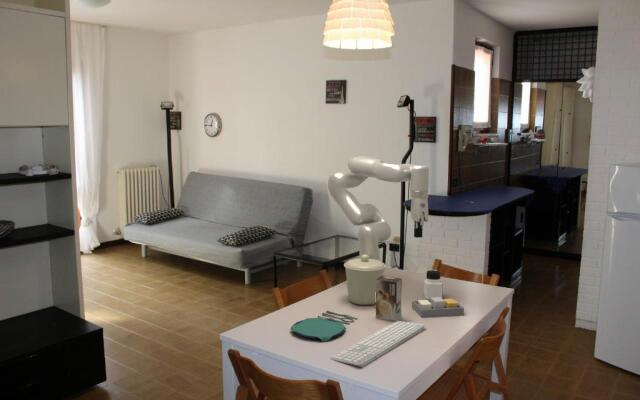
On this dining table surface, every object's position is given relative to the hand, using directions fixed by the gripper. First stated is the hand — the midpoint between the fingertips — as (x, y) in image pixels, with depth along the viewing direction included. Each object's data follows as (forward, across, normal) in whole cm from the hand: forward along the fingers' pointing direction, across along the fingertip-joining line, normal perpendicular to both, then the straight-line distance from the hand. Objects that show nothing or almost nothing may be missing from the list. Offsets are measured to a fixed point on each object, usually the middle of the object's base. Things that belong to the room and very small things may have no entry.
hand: (418, 237), depth 238 cm
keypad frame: (+29, -12, -5) cm, 32 cm away
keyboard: (+30, -41, +27) cm, 57 cm away
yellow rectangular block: (+28, -12, -10) cm, 32 cm away
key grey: (+27, -12, -5) cm, 30 cm away
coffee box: (+29, -16, +17) cm, 37 cm away
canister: (+29, +5, +22) cm, 37 cm away
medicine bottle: (+29, +7, -10) cm, 32 cm away
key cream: (+28, -12, +1) cm, 30 cm away
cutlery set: (+30, -23, +44) cm, 58 cm away
